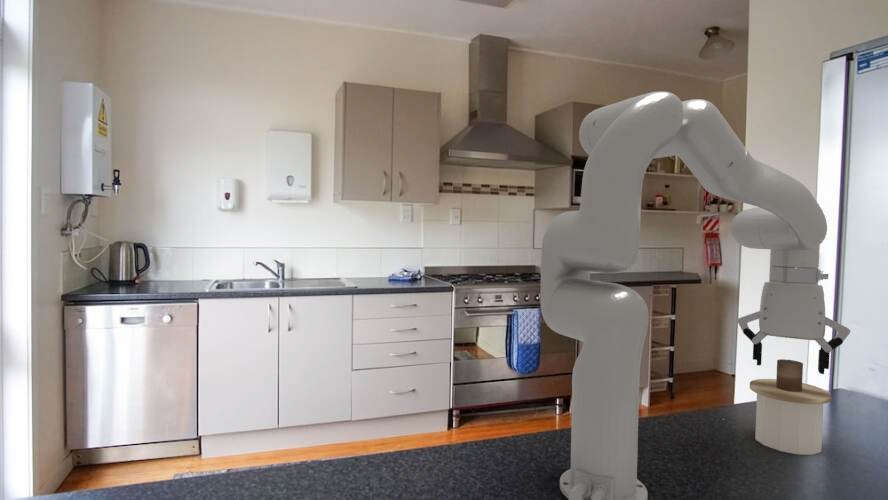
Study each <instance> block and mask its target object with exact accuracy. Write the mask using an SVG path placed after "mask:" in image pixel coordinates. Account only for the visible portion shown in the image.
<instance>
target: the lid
mask: <svg viewBox="0 0 888 500" xmlns="http://www.w3.org/2000/svg"><path fill="white" fill-rule="evenodd" d="M803 368H804V363H803V362H802V361H798V360H793V359H785V358H784V359H783V358H781V359H777V360H776V378H759V379H758V378H757V379H753V380H751V381H749V389H750V390H751V391H752V392H754V393H755V394H756V395H757V394H760V395H762V396H765V397H769V398H772V399H776V400H781V401H786V402H792V403H801V404H823V405H824V404H828V403H830V402H831V400H832V394H831V392H829V391H827V390H825V389H824V388H821V387H819V386H816V385H811V384H808V383H804V382H803V372H804V369H803Z"/></svg>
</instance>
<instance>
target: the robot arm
mask: <svg viewBox="0 0 888 500" xmlns="http://www.w3.org/2000/svg"><path fill="white" fill-rule="evenodd" d="M578 138H579V143H580V145H581V147H582V149H583V150H584V152H585V153H586V154H587V155H588V158H587V160H586V163H585V166H584V169H583V173H582V181H581V182H582V183H581V189H580V190H581V191H580V201H579V202H580V204H579V209H578V210H569V211H565V212H562V213H560V214H558V215H556V216H554V218H553V219H552V220H551V221H550V222H549V223H548V226H547V227H546V229H545V231H544V233H543V237H542V240H541V241H542V242H541V255H540V256H541V257H540V258H541V260H540V261H541V262H540V297H539V299H540V309H541V310H540V311H541V316H542V318H543V321H544V322H545V324H546V325H547V327H548V328H550V330H552V332H554V333H556V334H559V335H561V336H564V337H568V338H571V339H574V340H578V341H581V342H583V344H582V348H581V350H580V352H579V354H578V356H577V358H576V359H575V361H574V366H573V369H572V378H571V384H572V385H571V423H570V424H571V430H570V431H571V433H570V468H569V469H567V470H566V471H564V472H563V473H562V474H561V475H560V478H559V489H560V491H561V493H562V494H563V495H564V496H565V498H567V500H648V497H649V496H648V495H649V494H648V493H649V492H648V489H647V488H646V486H645V485H644V483H642V481H640V480H639V479H638V476H637V475H638V449H639V448H638V447H639V445H638V443H639V442H638V441H639V440H638V439H639V438H638V437H639V409H640V408H639V406H640V403H639V402H640V370H641V361H642V353H643V349H644V345H645V339H646V335H647V332H648V327H649V320H650V319H649V317H650V316H649V315H650V314H649V309H648V306H647V303H646V301H645V300H644V298H643V297H642V296H641V295H640V294H639V293H638V292H637V291H636V290H635V289H633V288H631V287H628V286H626V285H623V284H619V283H615V282H608V281H603V280H601V281H600V280H591V273H600V274H601V273H603V274H619V273H623V272H624V273H625V272H627V271H629V270H630V269H632V268H633V267H634V265H635V264H636V262H637V261H638V258H639V257H638V256H639V252H640V244H641V241H640V240H641V223H642V222H641V221H642V220H641V219H642V218H641V216H642V213H641V212H642V193H643V192H642V191H643V183H644V178H645V175H646V171H647V169H648V168H649V166H650V164H651V162H652V161H653V160H654V159H660V158H661V159H662V158H668V157H674V156H675V157H678V158H679V159H681V161H682V162H683V163H684V165H685V166H686V167H687V168H688V170H690V172H691V173H692V174H693V175H694V177H695V178H696V179H697V181H698V182H699V183H700V185H701V186H702V187H703V189H704V190H705V191H706V192H708V193H709V194H711V195H714V196H717V197H719V198H723V199H726V200H729V201H734V202H738V203H742V204H745V205H751V206H754V207H751V208H746V209H744V210H742V211H741V212H739V213H738V214H736V215H735V216H734V218H733V220H732V222H731V225H730V232H731V236H732V238H733V239H734V240H735V242H737V243H738V244H739V245H741V246H742V247H745V248H748V249H754V250H770V251H769V252H770V255H769V276H768V277H769V278H768V279H769V280H768V281H765V282H764V284H763V287H762V290H761V291H762V292H761V296H760V306H759V310H758V311H756V312H753V313H749V314H747V315H744V316H740V317H739V318H738V319H737V324H738V325H739V327H740V329H741V331H742V334H743V335H745V336H746V337H747V338H748V340H750V342H751V343H752V344H753V345H752V360H755V361H756V366H762V359H763V358H762V355H763V354H762V353H763V352H762V351H763V342H762V341H763V340H764V339H766V337H767V336H770V337H778V338H785V339H786V338H787V339H796V340H805V341H815V342H816V343H817V344H818V345H819V346H820V349H818V361H817V362H818V364H817V371H818V373H819V374H820V375H825V369H826V370H829V368H830V353H832V351H833V350H835V349H837V348H838V347H839V346H842V345H843V344H844V343H843V342H844V341H845V340H846V339H847V337H848V336H849V335H850V333H851V330H850V328H849V327H847V326H845V325H843V324H841V323H839V322H837V321H835V320H833V319H831V318H829V317H828V316H826V304H825V293H824V287H823V285H821V284H819V282H821V281H823V280H829V272H828V271H823V270H821V269H820V268H819V267H820V249H821V247H820V246H821V244H822V243H823V242H824V240H825V239H826V236H827V232H828V225H827V224H828V223H827V218H826V216H825V213H824V212H823V211H824V210H823V209H822V207H821V205H820V204H819V203H818V201H817V199H816V198H815V196H814V195H813V194H812V192H811V191H810V189H808V187H806V185H804V184H803V183H802V182H801V181H799V180H797V179H796V178H795V177H793V176H790V175H788V174H786V173H784V172H783V171H781V170H778V169H776V168H775V167H773V166H770V165H769V164H766V163H763V162H761V161H759V160H757V159H755V158H754V157H753V156H752V155H751V154H750V152H749V150H747V148H746V147H745V145H744V144H743V141H741V139H740V138H739V137H738V135H737V134H736V132H735V131H734V130H733V128H732V127H731V126H730V124H729V122H728V121H727V119H726V118H725V117H724V115H722V113H721V112H720V110H719V109H718V108H717V106H716V105H715V104H713V103H712V102H711V101H708V100H706V99H703V98H702V99H701V98H698V99H697V98H693V99H689V100H683V101H682V100H681V98H680V97H678V96H677V95H676V94H674V93H672V92H669V91H651V92H648V93H644V94H640V95H637V96H633V97H629V98H627V99H624V100H621V101H618V102H614V103H611V104H608V105H604V106H601V107H599V108H596V109H594V110H592V111H591V112H589V113H588V114H587V115H586V116H585V117H584V118H583V119H582V121H581V124H580V127H579V131H578ZM756 320H758V326H759V331H758V332H756V333H754V331H753V330H751V329H750V326H749V325H748V323H750V322H754V321H756ZM826 326H827V327H828V328H831V329H833V330H835V331H837V334H836V335H835V336H834V337H833V338H832V339H830V340H828V341H827V340H826V339H825V335H826Z"/></svg>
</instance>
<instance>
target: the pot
mask: <svg viewBox="0 0 888 500" xmlns="http://www.w3.org/2000/svg"><path fill="white" fill-rule="evenodd" d="M755 407H756V411H755V435H754V438H755V440H756V441H757V442H759V443H760V444H761V445H762V446H765V447H767V448H771V449H772V450H776V451H778V452H784V453H789V454H794V455H806V456H807V455H809V456H813V455H816V454H820V453H822V447H823V446H822V444H823V420H824V404H801V403H792V402H786V401H781V400H776V399H772V398H769V397H765V396H762V395H760V394H757V393H756V406H755Z"/></svg>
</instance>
